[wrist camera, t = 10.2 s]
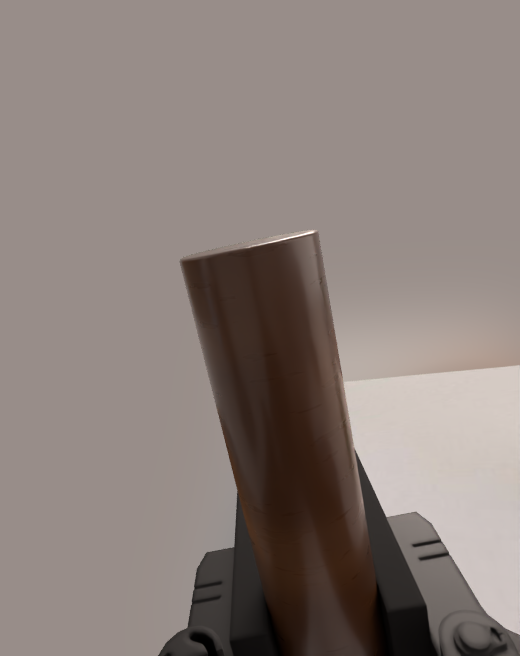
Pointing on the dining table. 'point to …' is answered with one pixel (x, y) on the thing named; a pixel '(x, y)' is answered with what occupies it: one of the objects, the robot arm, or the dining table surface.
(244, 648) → the robot arm
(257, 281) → the stirring stick
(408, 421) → the dining table surface
